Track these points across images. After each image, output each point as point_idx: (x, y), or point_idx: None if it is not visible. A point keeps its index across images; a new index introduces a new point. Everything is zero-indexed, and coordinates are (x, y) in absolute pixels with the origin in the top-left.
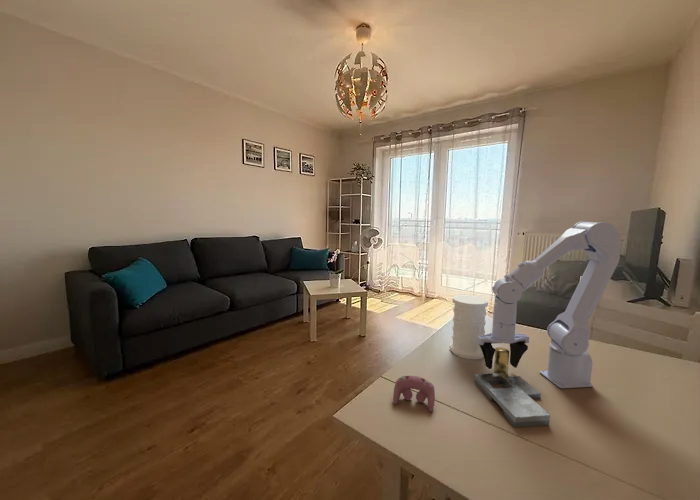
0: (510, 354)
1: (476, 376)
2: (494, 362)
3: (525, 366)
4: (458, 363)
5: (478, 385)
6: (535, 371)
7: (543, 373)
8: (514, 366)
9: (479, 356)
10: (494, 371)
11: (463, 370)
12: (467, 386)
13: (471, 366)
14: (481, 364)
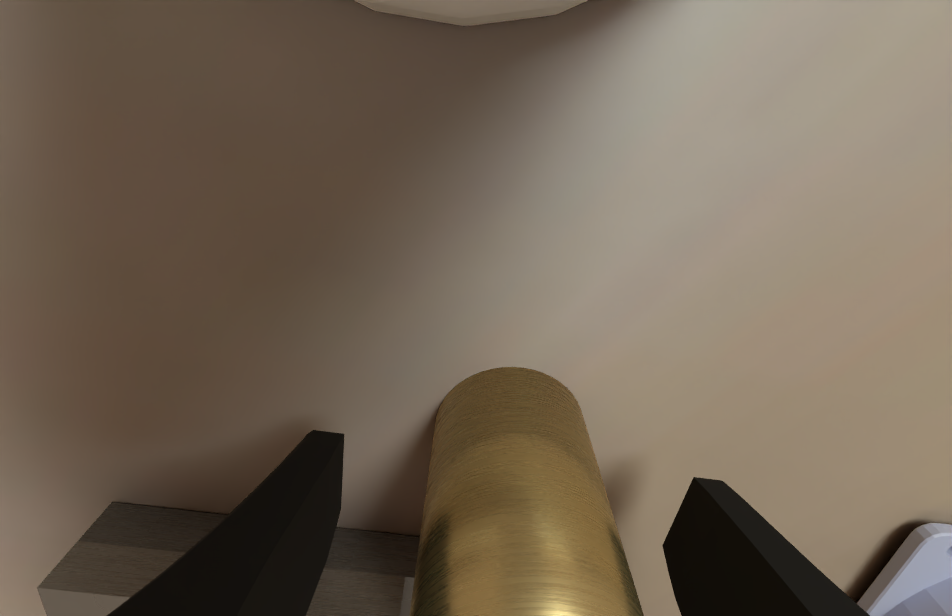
0: (793, 596)
1: (51, 599)
2: (430, 499)
3: (942, 388)
4: (29, 78)
5: None
6: (915, 486)
7: (912, 572)
8: (670, 553)
9: (487, 17)
10: (435, 426)
11: (57, 283)
12: (17, 527)
13: (218, 218)
14: (404, 204)
